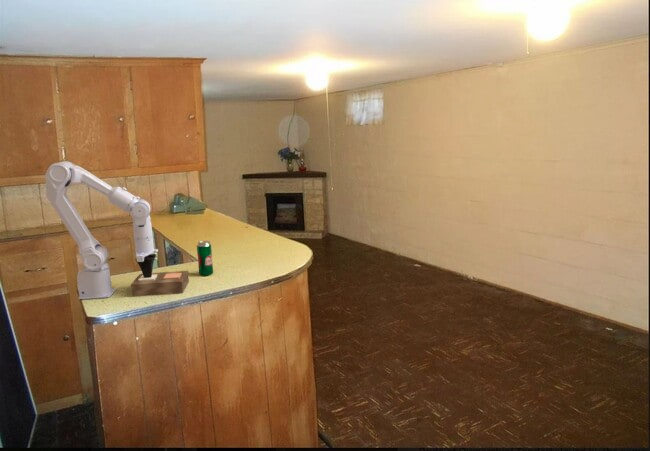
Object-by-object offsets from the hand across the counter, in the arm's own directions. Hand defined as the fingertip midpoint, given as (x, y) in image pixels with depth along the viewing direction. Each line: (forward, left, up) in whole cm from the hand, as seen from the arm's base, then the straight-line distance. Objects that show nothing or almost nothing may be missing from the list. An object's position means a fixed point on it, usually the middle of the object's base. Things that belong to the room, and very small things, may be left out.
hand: (147, 277), depth 166 cm
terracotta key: (+8, 0, -2) cm, 8 cm away
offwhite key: (0, 0, -2) cm, 2 cm away
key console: (+4, 0, -4) cm, 6 cm away
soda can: (+17, +14, -4) cm, 22 cm away
